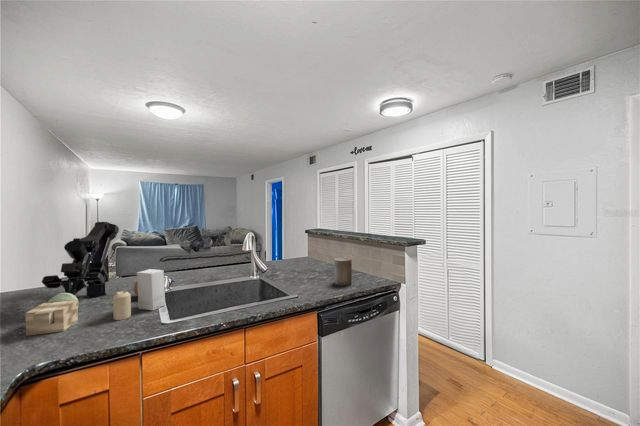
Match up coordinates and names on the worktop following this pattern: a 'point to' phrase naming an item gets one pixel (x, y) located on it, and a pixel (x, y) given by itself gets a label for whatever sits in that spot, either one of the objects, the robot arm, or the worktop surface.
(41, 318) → the plunger
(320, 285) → the worktop surface
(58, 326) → the block
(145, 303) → the skincare box
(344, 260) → the pillar candle
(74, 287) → the robot arm
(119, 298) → the candle
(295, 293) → the worktop surface
